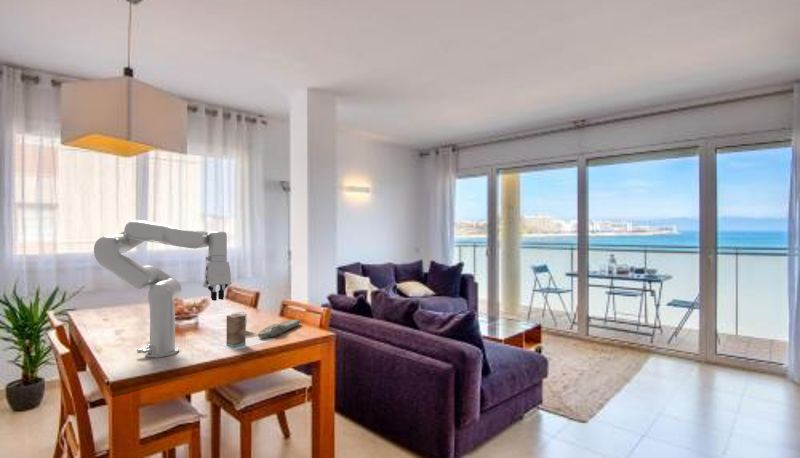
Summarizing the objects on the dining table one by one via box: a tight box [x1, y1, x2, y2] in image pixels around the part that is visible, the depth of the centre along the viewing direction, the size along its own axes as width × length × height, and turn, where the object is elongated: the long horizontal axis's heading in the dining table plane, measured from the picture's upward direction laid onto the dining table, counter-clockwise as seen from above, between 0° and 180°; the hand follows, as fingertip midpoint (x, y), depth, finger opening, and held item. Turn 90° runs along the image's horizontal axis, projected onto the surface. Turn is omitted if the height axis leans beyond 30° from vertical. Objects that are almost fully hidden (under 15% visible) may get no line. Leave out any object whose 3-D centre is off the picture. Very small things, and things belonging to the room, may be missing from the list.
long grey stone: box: [257, 319, 301, 338], centre depth 217 cm, size 35×5×10 cm
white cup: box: [230, 311, 248, 326], centre depth 215 cm, size 8×8×10 cm
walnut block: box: [225, 314, 247, 348], centre depth 191 cm, size 6×6×14 cm
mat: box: [221, 335, 277, 351], centre depth 196 cm, size 22×12×1 cm, turn 142°
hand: (217, 299), depth 184 cm, fingers open, 2 cm apart
